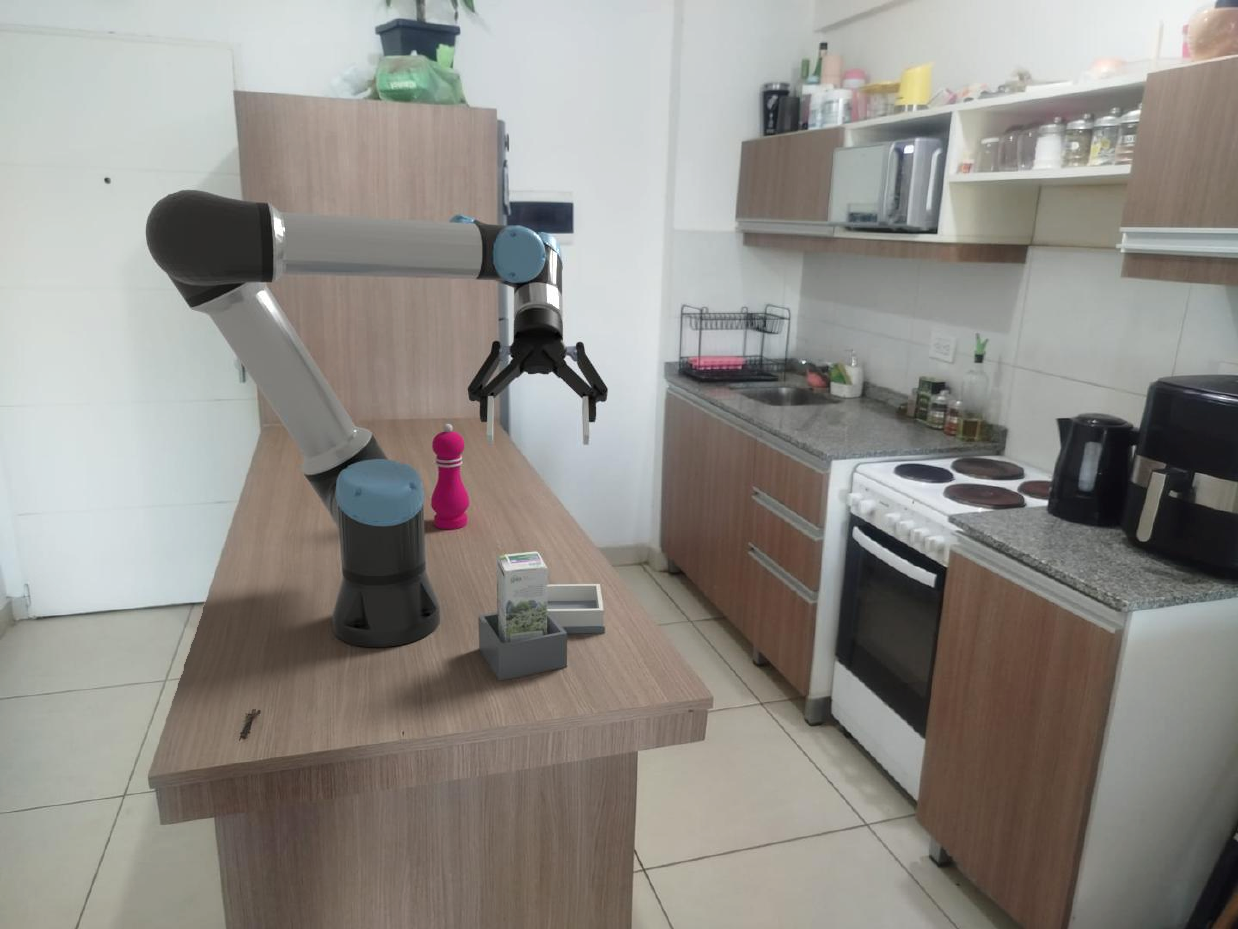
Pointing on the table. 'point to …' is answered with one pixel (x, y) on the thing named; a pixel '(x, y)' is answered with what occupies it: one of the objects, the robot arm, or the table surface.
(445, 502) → the pepper mill
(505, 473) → the table surface
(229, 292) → the robot arm
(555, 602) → the low tray
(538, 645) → the deep sleeve
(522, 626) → the syrup box
